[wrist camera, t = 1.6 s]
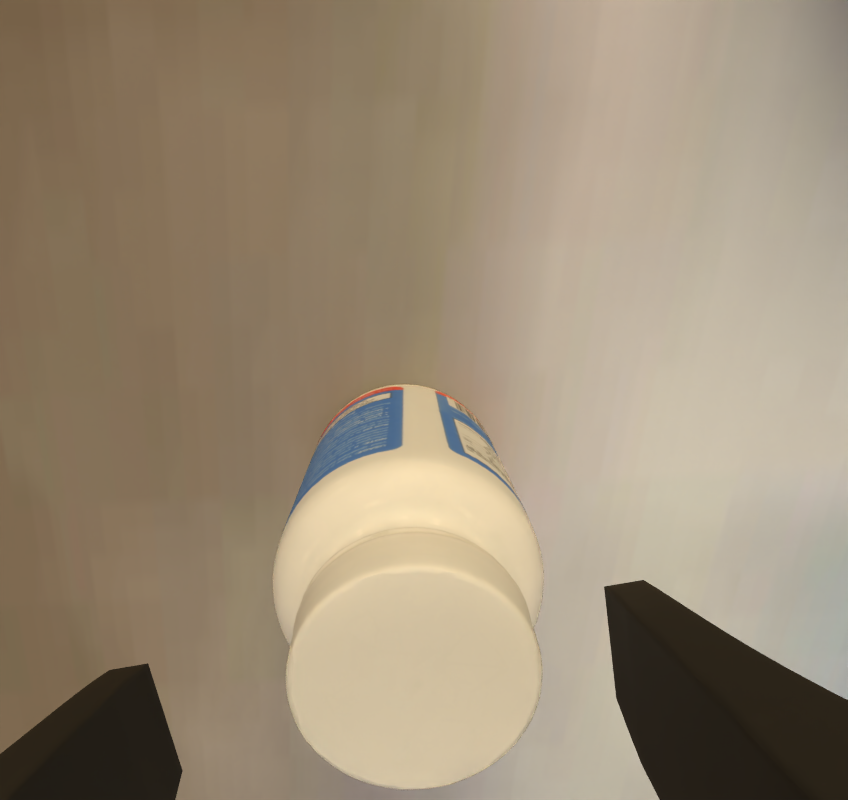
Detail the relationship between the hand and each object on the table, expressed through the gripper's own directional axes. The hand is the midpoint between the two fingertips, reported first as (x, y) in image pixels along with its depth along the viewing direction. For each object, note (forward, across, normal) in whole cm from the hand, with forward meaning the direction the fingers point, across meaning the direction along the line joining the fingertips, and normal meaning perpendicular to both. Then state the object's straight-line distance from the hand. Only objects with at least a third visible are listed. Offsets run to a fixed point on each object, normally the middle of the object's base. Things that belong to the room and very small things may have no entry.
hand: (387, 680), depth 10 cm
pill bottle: (+10, 0, 0) cm, 10 cm away
